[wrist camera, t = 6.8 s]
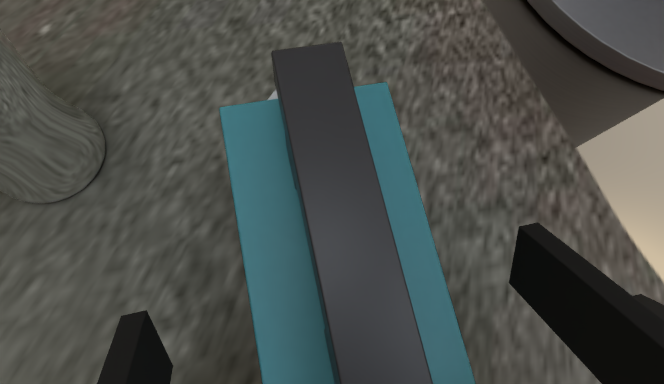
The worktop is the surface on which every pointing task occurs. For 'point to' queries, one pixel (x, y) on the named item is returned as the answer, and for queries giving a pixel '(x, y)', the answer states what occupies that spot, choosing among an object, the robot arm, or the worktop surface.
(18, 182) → the beer glass
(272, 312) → the teal slab with bar
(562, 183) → the worktop surface
